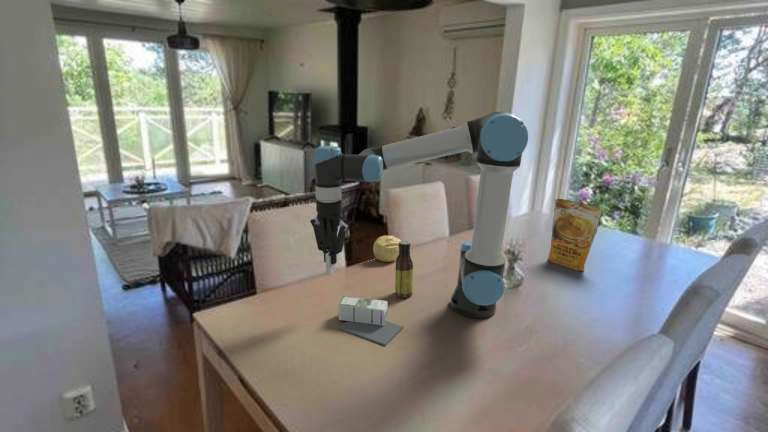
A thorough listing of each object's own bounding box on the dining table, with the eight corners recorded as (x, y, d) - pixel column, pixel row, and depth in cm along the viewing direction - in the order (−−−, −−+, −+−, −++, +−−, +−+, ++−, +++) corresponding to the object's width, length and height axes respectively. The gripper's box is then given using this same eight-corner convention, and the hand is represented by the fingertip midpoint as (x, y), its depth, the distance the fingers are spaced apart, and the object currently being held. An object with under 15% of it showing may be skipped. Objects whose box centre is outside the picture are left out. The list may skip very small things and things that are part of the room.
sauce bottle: (414, 292, 147) (418, 241, 141) (408, 300, 141) (411, 246, 136) (398, 288, 149) (400, 238, 144) (391, 296, 144) (393, 243, 138)
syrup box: (338, 320, 126) (384, 327, 124) (338, 303, 124) (384, 310, 122) (343, 311, 132) (387, 317, 129) (343, 294, 130) (388, 300, 127)
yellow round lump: (379, 266, 168) (380, 241, 165) (369, 255, 179) (369, 232, 176) (404, 262, 173) (405, 238, 170) (392, 252, 183) (393, 229, 180)
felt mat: (403, 328, 124) (403, 326, 124) (385, 346, 115) (385, 344, 115) (359, 313, 132) (359, 311, 132) (339, 329, 123) (339, 327, 122)
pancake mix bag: (549, 256, 186) (559, 196, 178) (591, 270, 172) (604, 206, 164) (541, 259, 182) (551, 198, 174) (584, 274, 168) (597, 209, 160)
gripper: (354, 199, 120) (354, 273, 127) (319, 194, 126) (321, 264, 133) (339, 205, 114) (340, 282, 120) (303, 199, 120) (306, 272, 127)
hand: (330, 272), depth 127 cm, fingers closed
